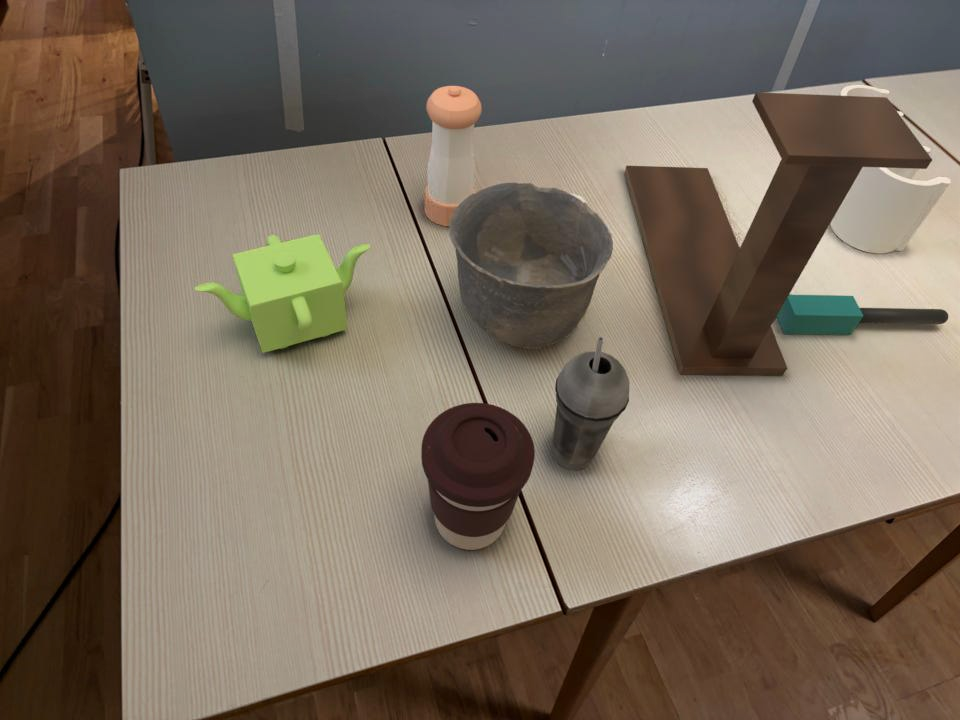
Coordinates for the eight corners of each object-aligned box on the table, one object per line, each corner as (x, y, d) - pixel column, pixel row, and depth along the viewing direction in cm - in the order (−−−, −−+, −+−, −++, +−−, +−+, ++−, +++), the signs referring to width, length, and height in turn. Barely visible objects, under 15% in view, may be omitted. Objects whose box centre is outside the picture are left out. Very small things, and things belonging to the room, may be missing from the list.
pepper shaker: (450, 188, 106) (455, 66, 91) (485, 212, 103) (496, 90, 88) (414, 208, 102) (413, 85, 87) (448, 233, 99) (454, 110, 84)
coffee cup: (423, 568, 69) (424, 493, 57) (419, 477, 75) (418, 393, 63) (524, 561, 70) (545, 486, 58) (512, 472, 76) (528, 389, 64)
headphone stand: (704, 175, 112) (785, -40, 87) (785, 382, 86) (933, 159, 61) (624, 173, 111) (682, -46, 86) (681, 381, 85) (788, 154, 60)
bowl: (466, 388, 82) (473, 299, 71) (431, 283, 93) (433, 190, 81) (606, 363, 86) (636, 274, 75) (558, 264, 97) (578, 173, 85)
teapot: (375, 299, 90) (371, 236, 82) (332, 378, 82) (322, 316, 74) (265, 270, 92) (250, 205, 84) (213, 344, 84) (190, 280, 76)
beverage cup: (619, 459, 78) (668, 341, 62) (569, 493, 75) (609, 378, 59) (574, 414, 81) (611, 291, 66) (526, 445, 78) (552, 324, 63)
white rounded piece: (796, 149, 118) (828, 82, 109) (853, 153, 119) (890, 86, 109) (841, 251, 103) (884, 182, 93) (907, 255, 103) (956, 187, 94)
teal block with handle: (932, 316, 95) (948, 297, 93) (944, 336, 93) (961, 317, 90) (775, 313, 94) (786, 294, 91) (783, 333, 91) (795, 315, 89)
